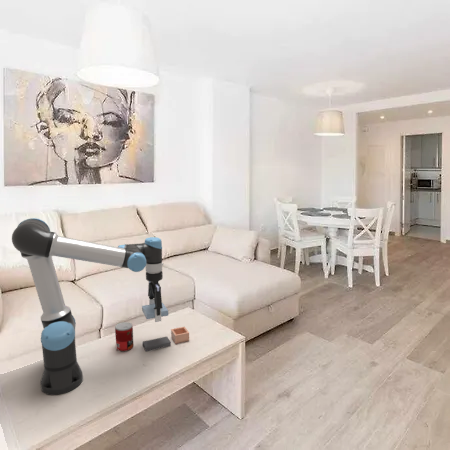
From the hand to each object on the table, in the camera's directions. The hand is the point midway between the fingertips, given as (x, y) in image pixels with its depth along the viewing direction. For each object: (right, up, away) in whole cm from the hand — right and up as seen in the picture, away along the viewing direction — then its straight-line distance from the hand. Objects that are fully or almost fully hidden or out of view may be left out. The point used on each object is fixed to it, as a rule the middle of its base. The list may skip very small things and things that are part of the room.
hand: (155, 316), depth 163 cm
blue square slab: (0, +2, 0) cm, 2 cm away
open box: (+11, -14, +9) cm, 19 cm away
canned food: (-15, -15, +2) cm, 21 cm away
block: (0, -15, +3) cm, 15 cm away
